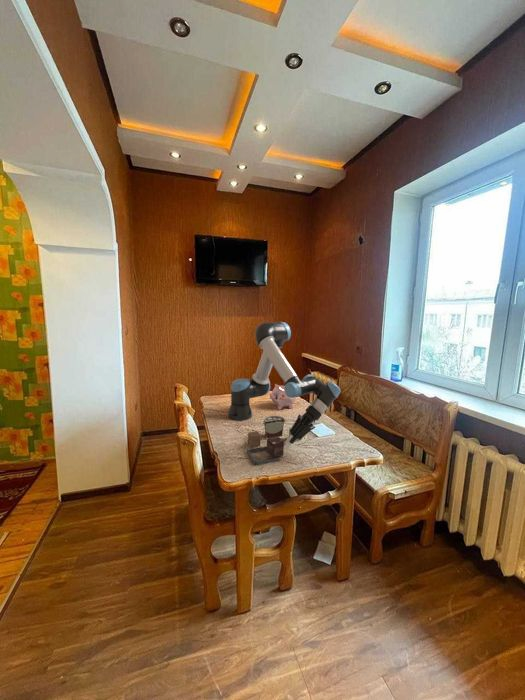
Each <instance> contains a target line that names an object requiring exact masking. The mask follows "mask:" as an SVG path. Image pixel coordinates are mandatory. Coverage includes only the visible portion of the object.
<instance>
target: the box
mask: <svg viewBox="0 0 525 700" xmlns="http://www.w3.org/2000/svg"><path fill="white" fill-rule="evenodd" d="M284 442H285V441H284V439H282V438H280V437H277V436H275V437H272V438H268V439H266V446H267V450H266V451H265V452H266V454H267V455H269V456H270V458H272V457H277V456H279V457H281V456H283V455H284V450H285V449H284V448H285V447H284Z"/></svg>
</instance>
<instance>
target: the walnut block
mask: <svg viewBox="0 0 525 700" xmlns="http://www.w3.org/2000/svg"><path fill="white" fill-rule="evenodd" d="M261 438H262V436H261V434H260V432H259V431H258V430H254V431H248V432H247V445H250V446H249V447H250V449H253V448H259V447H261V440H262V439H261ZM258 446H259V447H258ZM252 447H253V448H252Z"/></svg>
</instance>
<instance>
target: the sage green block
mask: <svg viewBox="0 0 525 700" xmlns="http://www.w3.org/2000/svg"><path fill="white" fill-rule="evenodd" d="M291 428H292V426H289V427H288V437H289V436H290V434H291V432H290V429H291ZM302 439H303V438H302ZM302 439H300V440H299V439H296V440H295V441H294V442H298V441H299V442H300V441H302Z"/></svg>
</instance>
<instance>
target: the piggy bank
mask: <svg viewBox="0 0 525 700" xmlns="http://www.w3.org/2000/svg"><path fill="white" fill-rule="evenodd" d="M284 388H285V385H279V384H277V383H274V388H273V389H272V391H271V392H270V394H269V399H271V401H272V403H273V405H274V406H276V408H277V410H283V408H288V409H290V410H293V409H294V406H293V404H294V402H295V400H296V397H294V398H290V397H288V396H287V395H286V393H285V390H284Z"/></svg>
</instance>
